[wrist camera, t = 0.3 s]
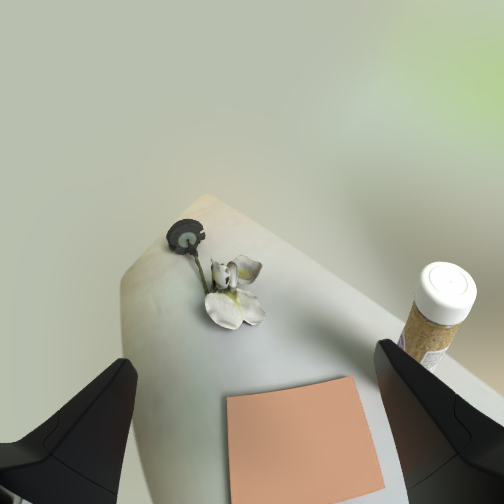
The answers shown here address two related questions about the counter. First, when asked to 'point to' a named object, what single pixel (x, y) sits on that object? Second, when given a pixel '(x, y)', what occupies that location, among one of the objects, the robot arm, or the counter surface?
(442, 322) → the sprinkles bottle
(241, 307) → the artificial flower
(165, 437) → the counter surface
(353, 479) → the terracotta tile
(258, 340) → the counter surface
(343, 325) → the counter surface
